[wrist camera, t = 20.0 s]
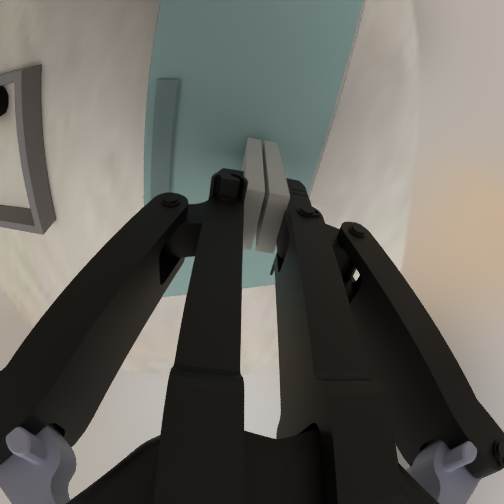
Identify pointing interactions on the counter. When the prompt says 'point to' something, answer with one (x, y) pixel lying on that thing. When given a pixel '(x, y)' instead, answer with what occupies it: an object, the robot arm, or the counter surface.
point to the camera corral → (29, 155)
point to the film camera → (3, 101)
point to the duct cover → (241, 96)
